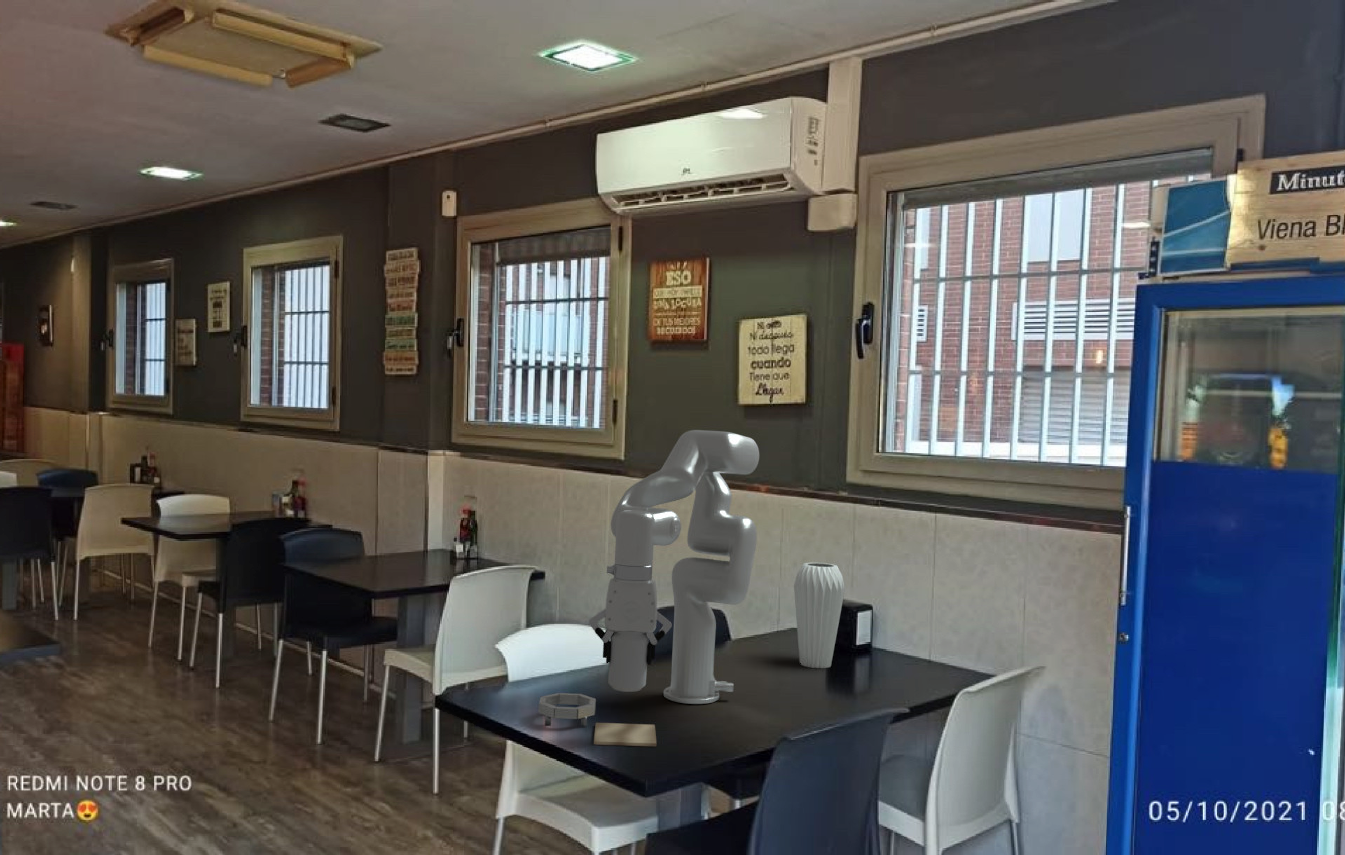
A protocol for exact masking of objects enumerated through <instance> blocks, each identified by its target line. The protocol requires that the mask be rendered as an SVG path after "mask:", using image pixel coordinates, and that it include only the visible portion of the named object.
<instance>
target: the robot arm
mask: <svg viewBox="0 0 1345 855" xmlns="http://www.w3.org/2000/svg"><path fill="white" fill-rule="evenodd" d="M759 461H760V450H759V447H758V444H757V443H756V441H755V440H754V439H753V438H751V437H749V436H745V435H742V434H738V433H734V432H730V431H723V430H721V431H720V430H705V429H704V430H703V429H702V430H701V429H692V430H688V431H685V432H684V433H682V434H681V435H680V437H679V438H678V439H677V442H676V443H675V444H674V446H673V448H672V450H671V451H670V453H669V455H668V457H667V459H666V460H665V462H664V463H663V466H662V467H661V469H660V470H657V471H656V472H654V473H652V474H649V475H648V476H646V477H644V478H642V479H641V480H639V481H636V483H634V484H633V485H631V486H630V487H629V488H628V489H627V490H626V491H625V492H624V493H623V495H622V496H621V499H620V500H619V501H618V503H617V505H616V507H615V509H614V511H613V513H612V516H611V519H610V521H611V522H610V530H611V532H612V535H613V536H614V537H615V546H614V548H615V549H614V564H613V565H609V566H608V565H607V566H606V574H610V575H612V576H613V577H612V578H610V580H609V583H608V587H607V591H606V592H607V593H606V599H605V600H606V601H605V607H604V609H602V610H600V611H599V612H598V613H597V614H595V615H594V616H592V617H590V618H589V620H588V624H589V625H590V627H591V629H592V630H593V631H594V633H595V634H596V635H597V636H598V638H599V639H600V640H601V641H602V643H603V644H602V658H603V659H605V663H606V664H609V663H610V645H611V636H612V634H613V633H614V632H621V631H631V632H640V633H646V634H647V636H648V638H649V641H648V656H647V666H651V665H652V661H655V658H656V657H655V656H656V645H657V644H658V642H659V641H660V640H662V638H664V637H665V635H667V633H668V632H669V631H670V630H671V628H672V627H673V636H672V655H671V673H670V674H671V675H670V676H671V677H670V686H668V687H665V689H663V696H664V698H666V699H667V700H668V701H669V700H670V701H672V702H675V703H682V704H687V705H689V704H691V705H703V704H711V703H715V702H716V701H718V700H719V699H720V691H721V692H728V693H729V692H732V693H733V692H734V683H733V682H728V681H726V680H725V681H723V680H721V681H720V680H718V681H717V679H716V678H715V675H714V668H715V665H714V663H715V646H716V645H715V644H716V643H715V642H716V630H717V626H716V625H717V622H716V617H715V614H714V611H713V609H712V608H711V606H710V603H716V604H723V605H730V606H731V605H732V606H733V605H739V604H742V602H744V601H745V599H746V596H747V593H748V590H749V586H750V581H751V575H752V568H753V564H754V558H755V553H756V547H757V534H758V533H757V527H756V524H755V522H754V521H753V519H751V518H749V517H747V516H743V515H739V514H730V510H731V505H732V504H731V503H732V492H731V489H730V488H729V485H728V484H727V482H726V481H725V479H724V478H723V476H722V475H721V474H733V475H751V474H752V473H753V472H754V471H755V470H756V469H757V467H758V465H759ZM694 492H695V494H694V501H693V507H692V511H691V515H690V518H689V519H690V521H689V526H688V530H687V537H686V538H687V540H686V541H687V546H688V547H689V548H690V550H692V551H693V552H696V553H699V554H703V555H710V556H718V557H719V556H720V557H729V561H728V560H721V559H720V560H719V559H713V558H704V557H693V556H692V557H691V556H690V557H685V558H682V559H680V560H678V561H676V563H675V564H674V566H673V568H672V571H671V585H672V594H673V602H674V603H673V606H674V607H673V608H674V609H673V610H674V612H673V616H674V617H673V623H672V622H671V621H670V620H669V619H668V618H666V617H665V616H664V615H663V614H661V613H660V612H659V611H658V596H657V595H658V594H657V592H658V591H657V584H656V581H655V580H653V579H652V578H653V563H654V562H653V560H654V546H660V547H661V546H662V547H665V546H669V545H672V544H673V543H675V542H676V541H677V540H678V538H679V536H680V534H681V529H682V523H681V519H680V517H679V515H678V514H677V513H676V512H675V511H673V510H671V509H667V508H661V507H655V506H659V505H663V504H667V503H668V504H669V503H672V502H676V501H680V500H683V499H685V498H687V497H690V496H691V495H692V494H693V493H694ZM603 619H604V627H605V631H604V629H602V627H601V626H600V624H598V623H599V622H600V621H601V620H603ZM657 621H658V622H659V623H660V624H662V627H661V628H660V629H659V630H658V631H657V632H656V633H655V630H656V628H657V623H658V622H657ZM672 624H673V625H672Z"/></svg>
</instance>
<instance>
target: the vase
mask: <svg viewBox="0 0 1345 855" xmlns="http://www.w3.org/2000/svg"><path fill="white" fill-rule="evenodd" d="M793 589H794V592H793V593H794V606H795V616H796V631H797V643H798V644H797V645H798V655H799V656H798V657H799V664H800V663H801V664H800V665H801V666H803V667H807V668H812V669H827V668H831V666H832V661H833V656H834V651H835V644H836V641H837V634H838V631H839V630H838V628H839V623H840V618H841V613H842V607H843V600H844V595H845V584H844V577H843V574H842V572H841V571H840V569H839V567H838V565H836V564H832V563H829V562H828V563H826V562H804V563H803V564H802V566H801V567H800V569H799V571H798V572H797V574H796V577H795V580H794V584H793Z"/></svg>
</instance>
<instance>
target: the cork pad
mask: <svg viewBox="0 0 1345 855" xmlns="http://www.w3.org/2000/svg"><path fill="white" fill-rule="evenodd" d="M656 734H657V733H656V725H655V724H643V723H640V724H639V723H615V722H595V728H594V736H593V737H594V738H593V745H598V746H599V745H602V746H603V745H604V746H627V747H628V746H630V747H631V746H632V747H657V736H656Z"/></svg>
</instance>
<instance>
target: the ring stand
mask: <svg viewBox="0 0 1345 855" xmlns="http://www.w3.org/2000/svg"><path fill="white" fill-rule="evenodd" d="M596 701H597V699H596V698H594V697H591V696H588V695H585V694H582V693H568V692H567V693H565V692H559V693H558V692H556V693H553V694H547V695H543V696H540V699H539V702H538V713H539V714H540V715H542V716H543V715H544V716H545V717H544V725H545V726H547V727H549V726H551V725H552V719H562V720H565V719H567V720H579V719H580V727H581V728H586V727H587V725H588V717H591V716H595V714H596ZM558 705H570V706H558ZM571 705H572V706H571ZM573 705H574V706H575V705H577V707H576V706H575V707H574V706H573Z"/></svg>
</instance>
